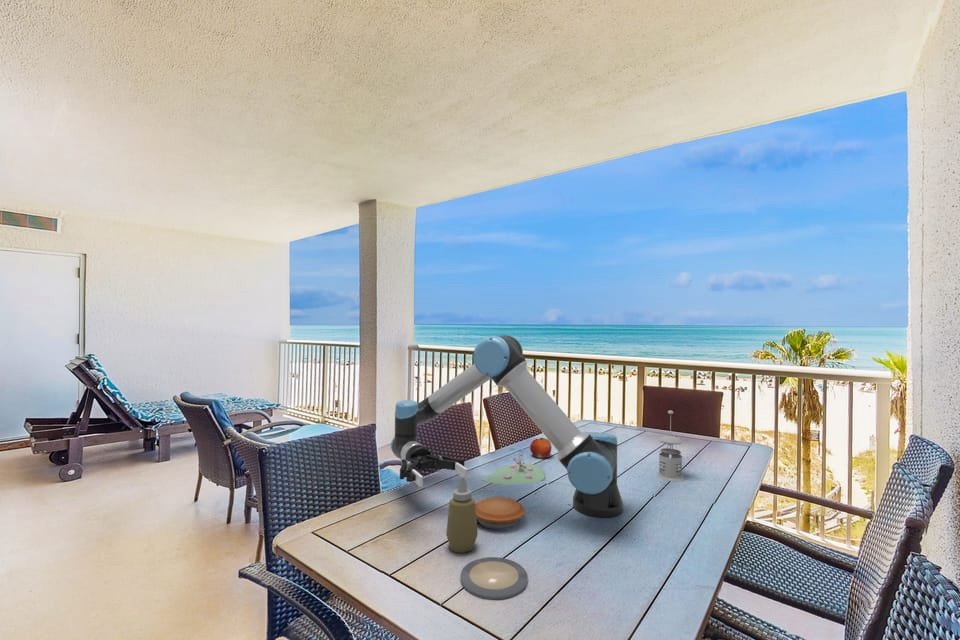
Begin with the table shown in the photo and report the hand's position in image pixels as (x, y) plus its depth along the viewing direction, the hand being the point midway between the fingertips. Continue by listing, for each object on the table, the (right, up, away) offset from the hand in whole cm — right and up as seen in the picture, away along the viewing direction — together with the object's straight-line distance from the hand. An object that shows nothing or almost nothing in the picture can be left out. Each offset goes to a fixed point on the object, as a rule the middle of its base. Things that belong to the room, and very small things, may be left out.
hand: (444, 477), depth 121 cm
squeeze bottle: (+5, -15, -9) cm, 18 cm away
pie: (+15, -15, +7) cm, 22 cm away
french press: (+82, -16, +45) cm, 94 cm away
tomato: (+36, -16, +68) cm, 79 cm away
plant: (+23, -16, +44) cm, 52 cm away
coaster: (+13, -15, -22) cm, 30 cm away
